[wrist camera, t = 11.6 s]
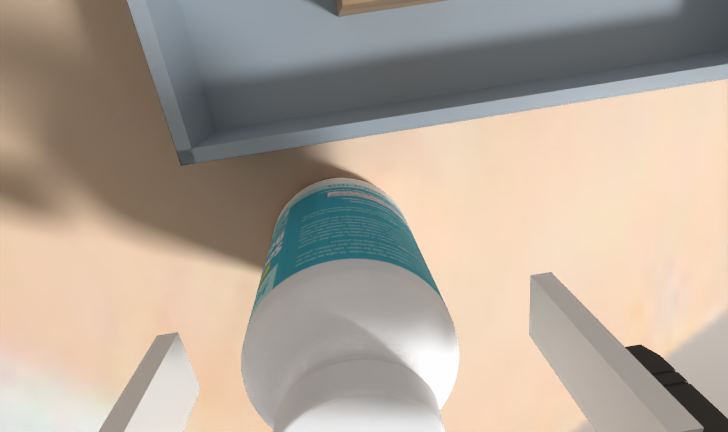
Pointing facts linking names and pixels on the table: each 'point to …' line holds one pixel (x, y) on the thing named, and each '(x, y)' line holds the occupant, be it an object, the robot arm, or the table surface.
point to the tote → (406, 63)
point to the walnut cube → (374, 5)
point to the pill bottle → (348, 320)
